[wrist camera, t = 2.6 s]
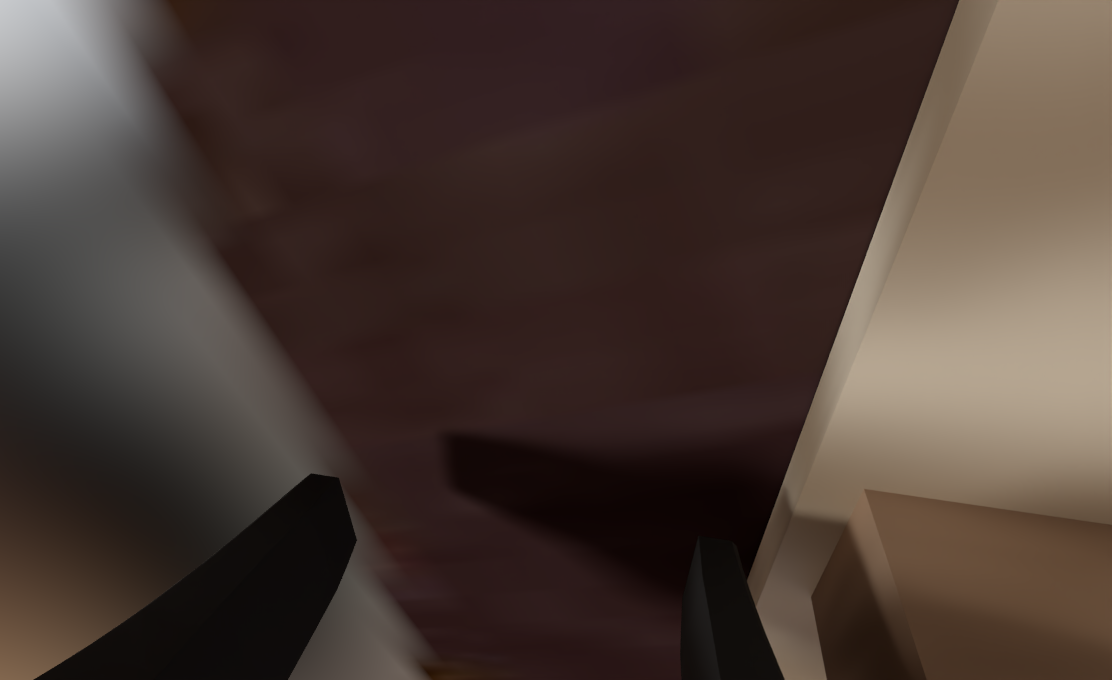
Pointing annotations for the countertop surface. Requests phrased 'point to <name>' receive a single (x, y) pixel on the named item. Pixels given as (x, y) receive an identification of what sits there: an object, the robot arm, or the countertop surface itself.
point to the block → (964, 594)
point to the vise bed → (969, 309)
